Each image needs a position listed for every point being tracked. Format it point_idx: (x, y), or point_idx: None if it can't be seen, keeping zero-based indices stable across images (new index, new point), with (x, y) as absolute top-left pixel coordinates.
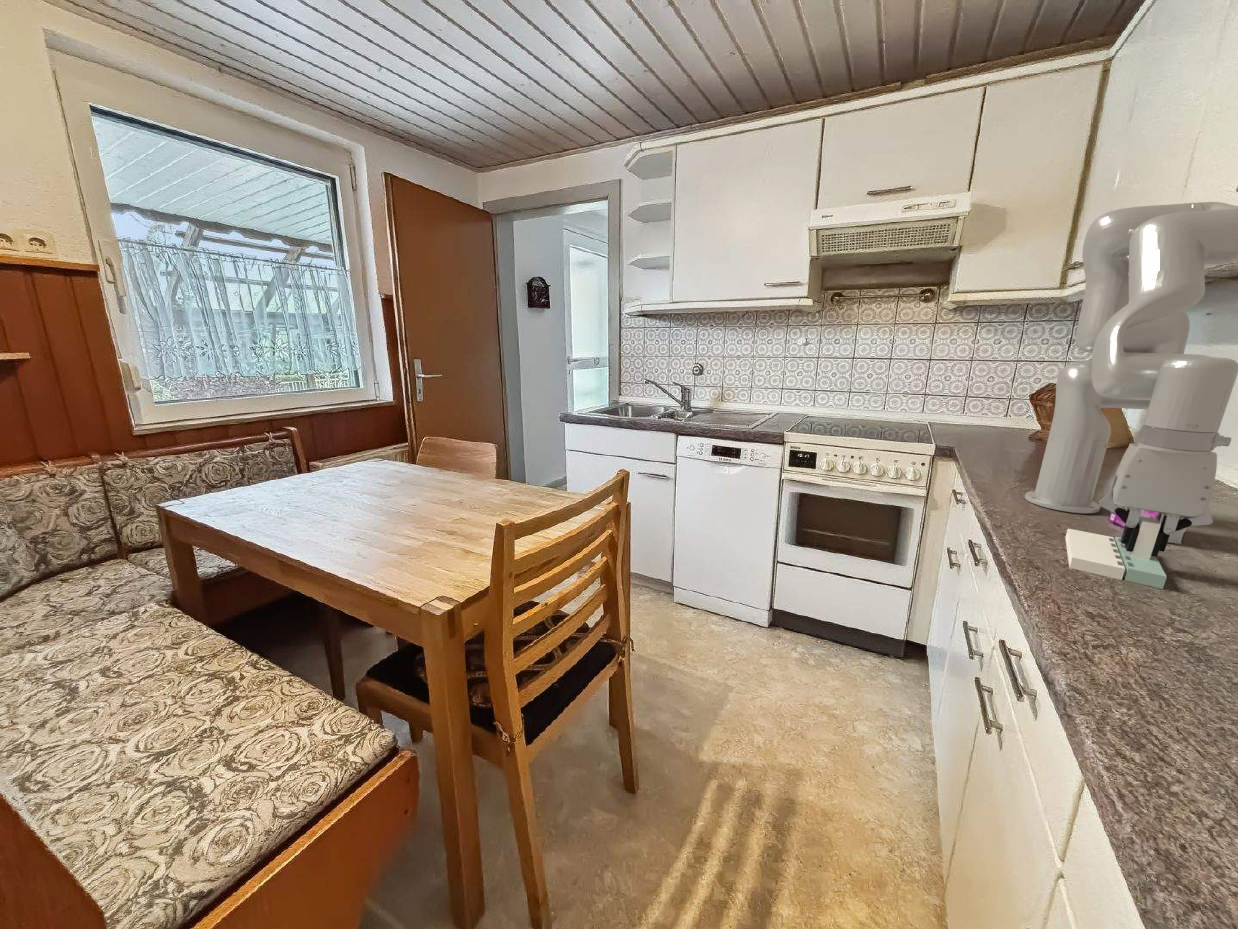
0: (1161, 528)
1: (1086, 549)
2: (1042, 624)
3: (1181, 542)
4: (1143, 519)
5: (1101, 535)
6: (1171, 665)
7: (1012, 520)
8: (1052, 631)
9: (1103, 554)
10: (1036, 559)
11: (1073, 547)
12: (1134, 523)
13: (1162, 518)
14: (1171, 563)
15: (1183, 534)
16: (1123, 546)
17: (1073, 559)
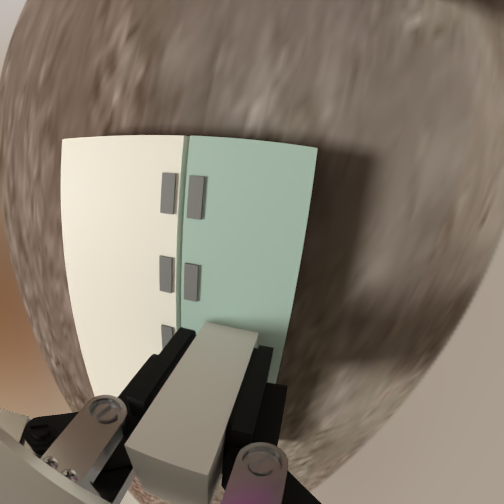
0: (225, 488)
1: (107, 355)
2: (132, 495)
3: None
4: (145, 479)
5: (144, 143)
6: None
7: (22, 71)
8: (140, 500)
9: None
10: (69, 362)
11: (85, 351)
12: (130, 463)
13: (223, 497)
14: (383, 210)
15: None
16: (190, 294)
17: None
